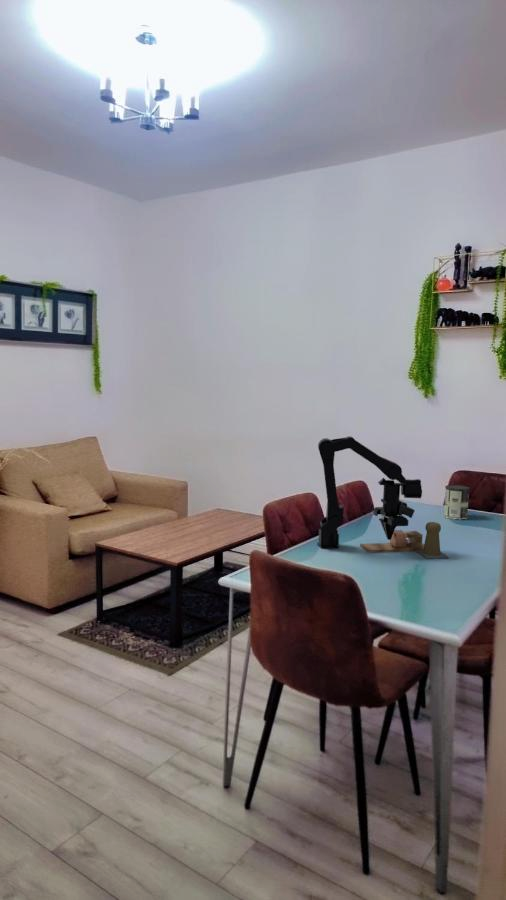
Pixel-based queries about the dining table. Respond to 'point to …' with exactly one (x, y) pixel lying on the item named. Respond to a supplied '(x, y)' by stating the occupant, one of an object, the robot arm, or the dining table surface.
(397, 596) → the dining table surface
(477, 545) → the dining table surface
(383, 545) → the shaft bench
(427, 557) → the seat pad
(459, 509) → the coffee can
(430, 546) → the cork
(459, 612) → the dining table surface
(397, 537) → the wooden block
